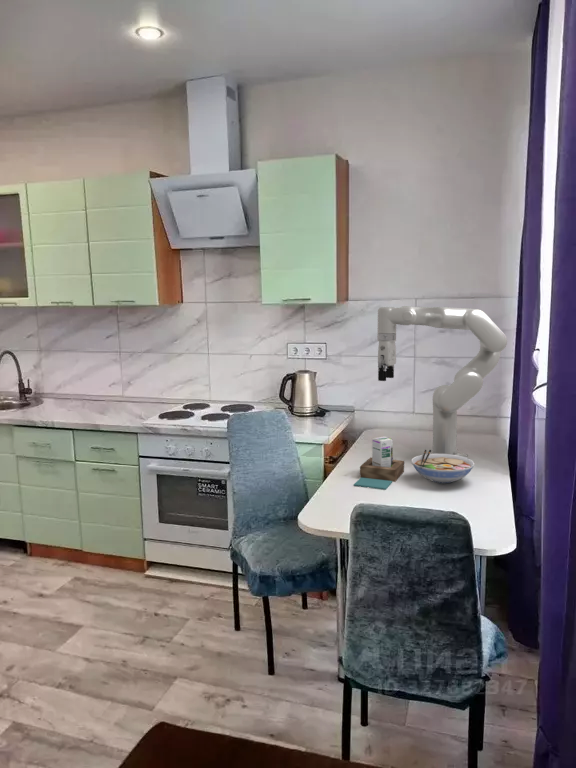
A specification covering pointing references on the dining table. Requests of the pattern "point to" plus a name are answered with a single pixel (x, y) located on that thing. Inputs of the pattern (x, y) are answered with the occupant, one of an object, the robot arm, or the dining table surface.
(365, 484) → the teal mat
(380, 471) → the walnut collar
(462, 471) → the ramen bowl
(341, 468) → the dining table surface
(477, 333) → the robot arm
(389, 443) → the syrup box
